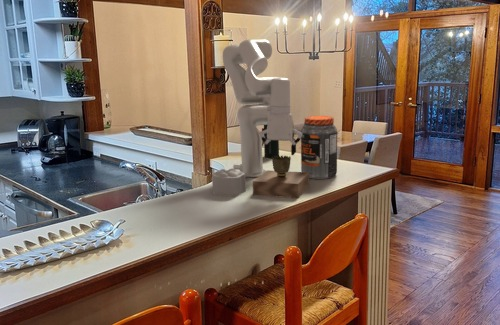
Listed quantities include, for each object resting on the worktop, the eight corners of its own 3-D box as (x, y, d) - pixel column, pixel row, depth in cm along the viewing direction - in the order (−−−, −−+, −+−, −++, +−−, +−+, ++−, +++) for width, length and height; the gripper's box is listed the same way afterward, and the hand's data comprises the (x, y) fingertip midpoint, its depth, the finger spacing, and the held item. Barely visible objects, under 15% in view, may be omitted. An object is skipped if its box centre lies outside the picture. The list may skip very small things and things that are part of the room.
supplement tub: (294, 174, 207) (293, 117, 201) (322, 169, 214) (323, 114, 208) (314, 181, 193) (314, 120, 187) (344, 176, 200) (345, 117, 194)
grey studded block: (236, 196, 176) (235, 174, 174) (207, 193, 181) (206, 172, 180) (248, 189, 185) (247, 168, 183) (219, 186, 191) (219, 166, 189)
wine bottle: (264, 154, 252) (263, 99, 246) (281, 155, 247) (280, 99, 241) (258, 157, 245) (256, 101, 239) (275, 158, 241) (274, 101, 234)
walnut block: (253, 196, 178) (252, 181, 177) (267, 184, 194) (266, 170, 193) (298, 199, 172) (298, 183, 170) (309, 186, 188) (308, 172, 187)
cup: (285, 179, 177) (284, 159, 175) (268, 177, 181) (268, 157, 179) (294, 175, 183) (294, 156, 181) (278, 173, 187) (277, 154, 185)
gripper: (256, 111, 176) (257, 155, 180) (300, 112, 171) (300, 156, 175) (261, 109, 183) (262, 151, 187) (304, 109, 178) (304, 152, 181)
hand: (281, 154), depth 181 cm, fingers open, 9 cm apart
